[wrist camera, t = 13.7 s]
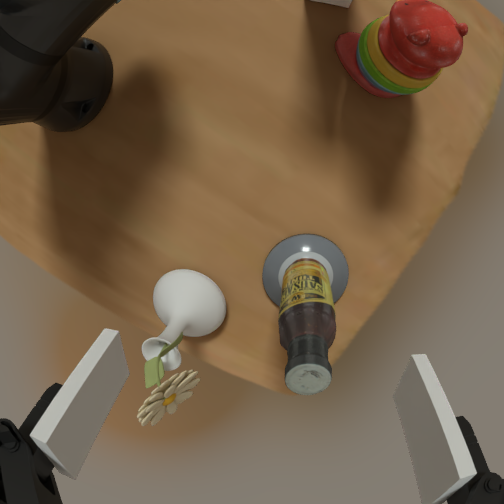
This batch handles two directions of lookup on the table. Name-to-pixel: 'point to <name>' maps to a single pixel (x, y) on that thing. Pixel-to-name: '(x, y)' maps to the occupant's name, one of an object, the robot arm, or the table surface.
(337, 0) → the milk
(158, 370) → the flower in vase
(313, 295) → the sauce bottle
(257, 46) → the table surface
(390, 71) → the stacking bear
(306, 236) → the coaster
